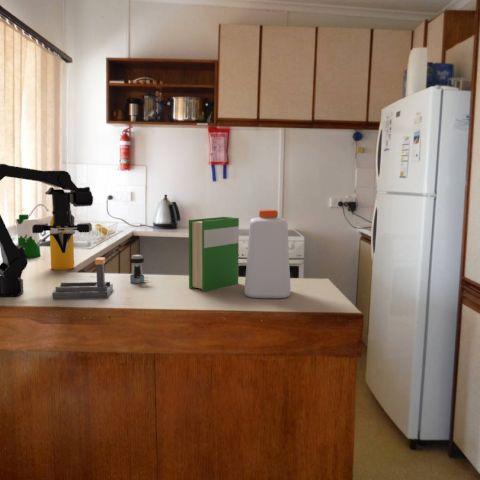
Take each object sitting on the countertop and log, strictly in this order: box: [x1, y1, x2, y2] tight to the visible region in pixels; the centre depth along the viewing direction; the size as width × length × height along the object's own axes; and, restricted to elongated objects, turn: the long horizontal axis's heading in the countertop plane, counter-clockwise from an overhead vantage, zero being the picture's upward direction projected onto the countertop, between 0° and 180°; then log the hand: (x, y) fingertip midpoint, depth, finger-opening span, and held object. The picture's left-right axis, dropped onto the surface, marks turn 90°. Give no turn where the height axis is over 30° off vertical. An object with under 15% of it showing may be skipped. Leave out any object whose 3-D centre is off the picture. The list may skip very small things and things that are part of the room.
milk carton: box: [15, 214, 41, 259], centre depth 236 cm, size 9×9×20 cm
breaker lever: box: [94, 256, 108, 286], centre depth 166 cm, size 3×5×10 cm, turn 6°
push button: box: [129, 254, 149, 284], centre depth 184 cm, size 7×5×10 cm
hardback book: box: [188, 216, 240, 293], centre depth 178 cm, size 18×7×24 cm, turn 139°
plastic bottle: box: [243, 209, 292, 299], centre depth 167 cm, size 15×15×28 cm
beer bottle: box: [49, 215, 75, 271], centre depth 209 cm, size 9×9×29 cm
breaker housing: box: [51, 281, 114, 300], centre depth 166 cm, size 17×12×3 cm
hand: (63, 252), depth 174 cm, fingers closed
